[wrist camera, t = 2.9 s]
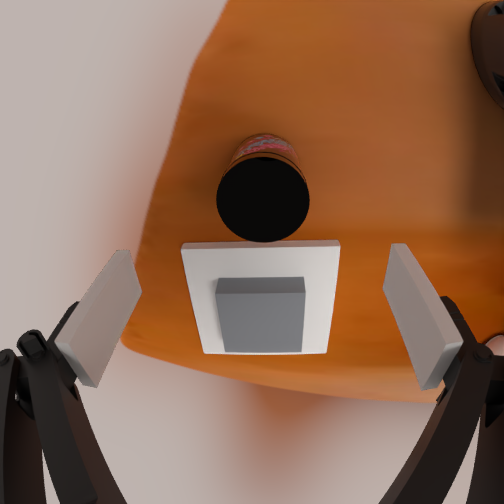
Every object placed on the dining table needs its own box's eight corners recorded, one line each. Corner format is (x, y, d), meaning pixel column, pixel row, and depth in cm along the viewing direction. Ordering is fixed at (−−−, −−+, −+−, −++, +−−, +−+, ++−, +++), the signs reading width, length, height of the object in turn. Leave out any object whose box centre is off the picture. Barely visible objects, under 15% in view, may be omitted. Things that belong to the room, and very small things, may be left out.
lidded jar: (464, 368, 48) (479, 405, 40) (481, 332, 43) (501, 371, 35) (501, 356, 47) (517, 389, 39) (519, 321, 41) (541, 355, 33)
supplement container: (312, 166, 31) (328, 206, 22) (263, 206, 33) (260, 258, 25) (267, 118, 28) (265, 136, 20) (219, 162, 31) (196, 199, 22)
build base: (183, 242, 36) (173, 263, 33) (337, 239, 35) (345, 261, 31) (205, 345, 46) (200, 368, 42) (325, 345, 44) (328, 368, 40)
